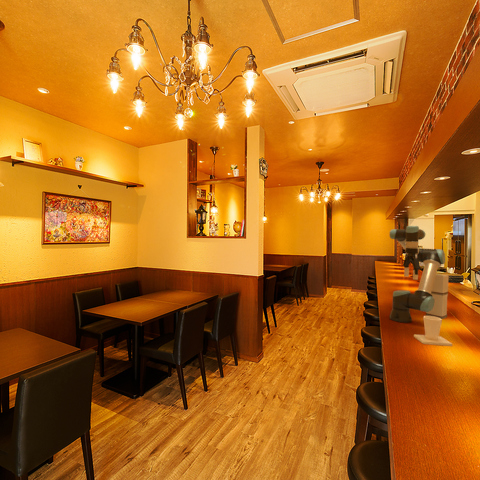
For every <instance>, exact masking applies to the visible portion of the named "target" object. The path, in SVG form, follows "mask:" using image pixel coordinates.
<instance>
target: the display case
mask: <svg viewBox="0 0 480 480" xmlns="http://www.w3.org/2000/svg"><path fill="white" fill-rule="evenodd" d="M431 294H432V295H433V298H434V300H435V302H434V307H433V309H432V310H431V311H429V312H425V316H433V317H438V318H440V319H442V320H444V319H446V318H447V317H448V314H447V313H448V312H447V311H448V309H447V308H448V296H449V274H442V273H441V274H440V273H436V276H435V280H434V284H433V288H432V291H431Z"/></svg>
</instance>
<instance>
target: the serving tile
mask: <svg viewBox="0 0 480 480" xmlns="http://www.w3.org/2000/svg"><path fill="white" fill-rule="evenodd" d="M413 338H415V339H416V340H418V342H420V343H422V344H424V345H430V346H431V345H433V346H434V345H435V346H445V347H453V343H452V342H451V341H448V340H447V339H446V338H444V337H443V336H441V335H439V337H438V340H430V339H427V338H426V335H425V334H413Z"/></svg>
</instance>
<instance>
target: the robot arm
mask: <svg viewBox="0 0 480 480" xmlns="http://www.w3.org/2000/svg"><path fill="white" fill-rule="evenodd" d="M425 237H426V231H424V229H420V227H419V225H407V226H406V228H405V229H401V228H399V229H398V228H396V229H395V228H394V229H390V231H389V238H390V239H391V240H396V241H397V243H399V245H400V246H401V247H402V248H403V249H404V250H405V254H404V259H403V265H402V266H403V268H404V271H403V273H404V274H403V275H404V278H405V277H407V278H408V277H409V275H410V264H412V267H413V269H412V270H413V271H412V279H413V280H415V281H416V280H417V281H418V280H419V270H421V266H420V263H423V265H424V268H423V271H422V274H421V277H420V281H419V284H418V288H417V289H416V290H414V293H411V291H410V290H403V289H402V290H400V289H399V290H394V291H393V292H392V309H391V311H390V313H389V319H390V320H392V321H393V322H398V323H405V324H407V323H412V321H413V317H412V315H411V312H410V310H415V311H419V312H425V313H426V312H429V311H431V310H432V309H433V307H434V302H435V300H434V298H433V295H432V294H431V291H432V288H433V284H434V280H435V276H436V274H438V273H437V272H438V269H439V268H441V266H442V265H445V263H446V254H445V251H444V250H443V249H438V248H421V247H419V241H420V240H423V239H424V238H425ZM409 278H410V277H409Z"/></svg>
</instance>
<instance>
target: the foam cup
mask: <svg viewBox="0 0 480 480" xmlns="http://www.w3.org/2000/svg"><path fill="white" fill-rule="evenodd" d="M442 320H443V319H440V318H438V317H433V316H426V315H424V316H423V320H422V321H423V325H424V327H423V328H424V335H426V338H427V339H430V340H438V337H439V336H440V331H441V327H442V323H443V322H442Z"/></svg>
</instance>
